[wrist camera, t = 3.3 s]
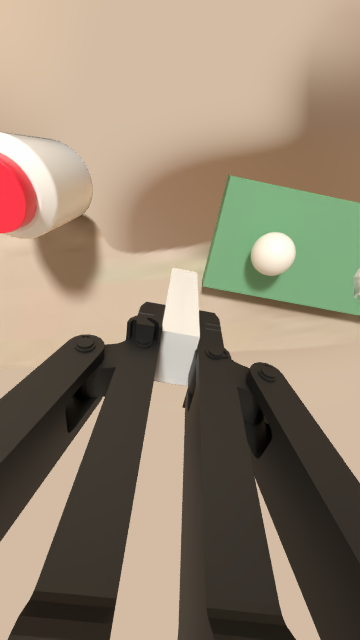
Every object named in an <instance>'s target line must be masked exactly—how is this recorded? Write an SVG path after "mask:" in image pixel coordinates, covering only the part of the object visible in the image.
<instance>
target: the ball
mask: <svg viewBox="0 0 360 640" xmlns="http://www.w3.org/2000/svg"><path fill="white" fill-rule="evenodd" d="M295 256H296V249H295V245H294V243H293V241H292V240H291V238H290V237H288V236H287V235H285V234H283V233H280V232H271V233H267V234H265V235H263V236H261V237H260V238H259V239H258V240H257V241H256V242H255V243H254V245H253V247H252V250H251V261H252V264H253V266H254V268H255V269H256V270H257V271H258V272H260V273H262V274H264V275H268V276H275V275H279V274H281V273H283V272H285V271H286V270H288V269H289V268H290V266H291V265H292V264H293V262H294V259H295Z"/></svg>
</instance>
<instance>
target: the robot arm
mask: <svg viewBox="0 0 360 640" xmlns="http://www.w3.org/2000/svg"><path fill="white" fill-rule="evenodd" d="M154 381H158V382H164V383H170V384H177V385H183V386H186V385H187V382H188V389H187V393H186V397H185V400H184V404H183V408H185V436H184V469H183V502H182V535H181V569H180V600H179V629H178V640H296V639H295V638H294V636H293V635H292V633H291V632H290V630H289V629H288V628H287V626H286V624H285V622H284V619H283V617H282V613H281V609H280V606H279V600H278V596H277V591H276V585H275V580H274V575H273V570H272V565H271V559H270V554H269V550H268V544H267V539H266V534H265V529H264V524H263V519H262V513H261V508H260V503H259V498H258V493H257V488H256V483H255V479H256V481H257V484H258V486H259V488H260V491H261V493H262V496H263V498H264V501H265V503H266V506H267V508H268V510H269V513H270V516H271V518H272V520H273V523H274V525H275V528H276V530H277V533H278V535H279V538H280V540H281V543H282V545H283V548H284V550H285V553H286V555H287V558H288V560H289V563H290V565H291V567H292V570H293V572H294V574H295V577H296V580H297V582H298V585H299V587H300V589H301V592H302V595H303V597H304V600H305V602H306V604H307V607H308V609H309V612H310V614H311V617H312V619H313V622H314V624H315V627H316V629H317V632H318V634H319V637H320V639H321V640H360V483H359V482H358V480H357V479H356V477H355V476H354V475H353V473H352V472H351V470H350V469H349V467H348V466H347V465H346V463H345V462H344V460H343V459H342V457H341V456H340V455H339V453H338V452H337V450H336V449H335V448H334V447H333V445H332V443H331V442H330V441H329V439H328V438H327V436H326V435H325V434H324V432H323V431H322V429H321V428H320V426H319V425H318V424H317V422H316V421H315V419H314V418H313V417H312V416H311V414H310V413H309V411H308V410H307V408H306V407H305V405H304V404H303V403H302V401H301V400H300V398H299V397H298V395H297V394H296V393H295V391H294V390H293V389H292V387H291V386H290V384H289V383H288V381H287V380H286V379H285V377H284V376H283V374H282V373H281V372H280V371H279V370H278V369H276V368H275V367H273V366H271V365H269V364H267V363H261V362H258V363H254V364H253V365H252V366H251V367H250V368H248V367H245V366H242V365H240V364H238V363H236V362H234V361H233V360H231V356H230V354H229V352H228V351H227V350H226V349H225V348H224V345H223V339H222V333H221V327H220V321H219V318H218V317H217V316H216V315H215V313H211V312H206V311H200V310H199V305H198V282H197V272H192V271H187V270H181V269H176V268H172V274H171V279H170V285H169V290H168V296H167V301H166V305H162V304H156V303H151V302H146V303H144V304H143V305H142V306H141V307H140V310H139V313H138V316H134V317H132V318H130V319H129V321H128V322H127V335H126V340H125V341H124V342H121V343H118V344H107V345H104V342H103V341H102V339H101V338H99V337H97V336H94V335H79V336H76V337H74V338H72V339H70V340H69V341H68V342H66V343H65V344H64V345H63V346H62V347H61V348H59V349H58V350H57V351H56V352H55V353H54V354H52V355H51V356H50V357H49V358H48V359H47V360H45V361H44V362H43V363H42V364H41V365H40V366H38V367H37V368H36V369H35V370H34V371H33V372H31V373H30V374H29V375H28V376H27V377H26V378H24V379H23V380H22V381H21V382H20V383H19V384H17V385H16V386H15V387H14V388H13V389H12V390H10V391H9V392H8V393H7V394H6V395H5V396H3V397H2V398H1V399H0V541H1V540H2V538H3V537H4V536H5V534H6V533H7V532H8V530H9V529H10V527H11V526H12V524H13V523H14V521H15V520H16V519H17V517H18V516H19V514H20V513H21V512H22V510H23V509H24V508H25V506H26V505H27V503H28V502H29V501H30V499H31V498H32V496H33V495H34V493H35V492H36V491H37V489H38V488H39V487H40V485H41V484H42V482H43V481H44V479H45V478H46V477H47V475H48V474H49V473H50V471H51V470H52V468H53V467H54V466H55V464H56V463H57V461H58V460H59V459H60V457H61V456H62V454H63V453H64V452H65V450H66V449H67V447H68V446H69V444H70V443H71V441H72V440H73V439H74V437H75V436H76V435H77V433H78V432H79V431H80V429H81V428H82V426H83V425H84V424H85V422H86V421H87V419H88V418H89V417H90V415H91V414H92V412H93V411H94V409H95V408H96V407H97V405H98V404H99V402H100V401H101V399H102V397H103V396H105V399H104V401H103V404H102V407H101V410H100V412H99V415H98V418H97V421H96V423H95V426H94V429H93V432H92V434H91V437H90V440H89V443H88V446H87V448H86V451H85V454H84V456H83V459H82V462H81V465H80V467H79V470H78V473H77V475H76V478H75V481H74V484H73V486H72V489H71V492H70V495H69V497H68V500H67V503H66V506H65V508H64V511H63V514H62V517H61V519H60V522H59V525H58V527H57V530H56V533H55V536H54V538H53V541H52V544H51V547H50V550H49V552H48V555H47V558H46V560H45V563H44V566H43V569H42V571H41V574H40V577H39V580H38V582H37V585H36V587H35V590H34V592H33V594H32V596H31V598H30V600H29V602H28V603H27V605H26V606H25V608H24V609H23V611H22V612H21V614H20V615H19V617H18V619H17V621H16V623H15V625H14V627H13V629H12V631H11V634H10V635H9V638H8V640H110V634H111V629H112V622H113V617H114V611H115V605H116V599H117V593H118V587H119V581H120V576H121V570H122V564H123V558H124V552H125V546H126V540H127V535H128V528H129V522H130V517H131V511H132V505H133V499H134V494H135V487H136V482H137V476H138V470H139V464H140V458H141V452H142V447H143V441H144V435H145V429H146V422H147V417H148V411H149V406H150V400H151V394H152V388H153V382H154ZM254 476H255V477H254Z"/></svg>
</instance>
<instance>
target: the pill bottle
mask: <svg viewBox="0 0 360 640" xmlns="http://www.w3.org/2000/svg"><path fill="white" fill-rule="evenodd" d="M91 198H92V181H91V177H90V174H89V171H88V169H87V167H86V165H85V163H84V162H83V160H82V159H81V158H80V157H79V155H78V154H77V153H76V152H75V151H74V150H73V149H71V148H70V147H69V146H67V145H66V144H64V143H62V142H60V141H56V140H52V139H47V138H40V137H33V136H26V135H19V134H12V133H5V132H0V233H4V234H6V235H9V236H11V237H16V238H21V239H31V238H36V237H39V236H41V235H43V234H46V233H48V232H50V231H52V230H54V229H56V228H58V227H60V226H62V225H64V224H66V223H68V222H70V221H72V220H74V219H76V218H78V217H80V216H81V215H82V214H83V213H85V211H86V210H87V209H88V207H89V205H90V203H91Z"/></svg>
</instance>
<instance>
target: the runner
mask: <svg viewBox="0 0 360 640" xmlns="http://www.w3.org/2000/svg"><path fill="white" fill-rule="evenodd" d="M271 232H280V233H283V234H285V235H287V236H288V237H290V238H291V240H292V241H293V243H294V245H295V249H296V256H295V259H294V262H293V264H292V265H291V266H290V268H289V269H288V270H286V271H285V272H283V273H281V274H279V275H275V276H268V275H264V274H262V273H260V272H258V271H257V270H256V269H255V268H254V266H253V264H252V261H251V250H252V247H253V245H254V243H255V242H256V241H257V240H258V239H259V238H260V237H261V236H263V235H265V234H267V233H271ZM202 282H203V287H209V288H214V289H219V290H225V291H230V292H235V293H241V294H246V295H252V296H257V297H262V298H268V299H273V300H278V301H284V302H289V303H295V304H300V305H305V306H311V307H316V308H321V309H327V310H332V311H338V312H343V313H348V314H354V315H359V316H360V203H357V202H353V201H348V200H343V199H338V198H334V197H329V196H324V195H320V194H315V193H310V192H305V191H301V190H296V189H291V188H287V187H282V186H277V185H273V184H268V183H263V182H258V181H254V180H249V179H244V178H240V177H235V176H230V175H228V178H227V182H226V186H225V190H224V194H223V198H222V202H221V206H220V210H219V214H218V219H217V223H216V227H215V231H214V235H213V239H212V243H211V247H210V251H209V255H208V259H207V263H206V267H205V271H204V275H203V279H202Z"/></svg>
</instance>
